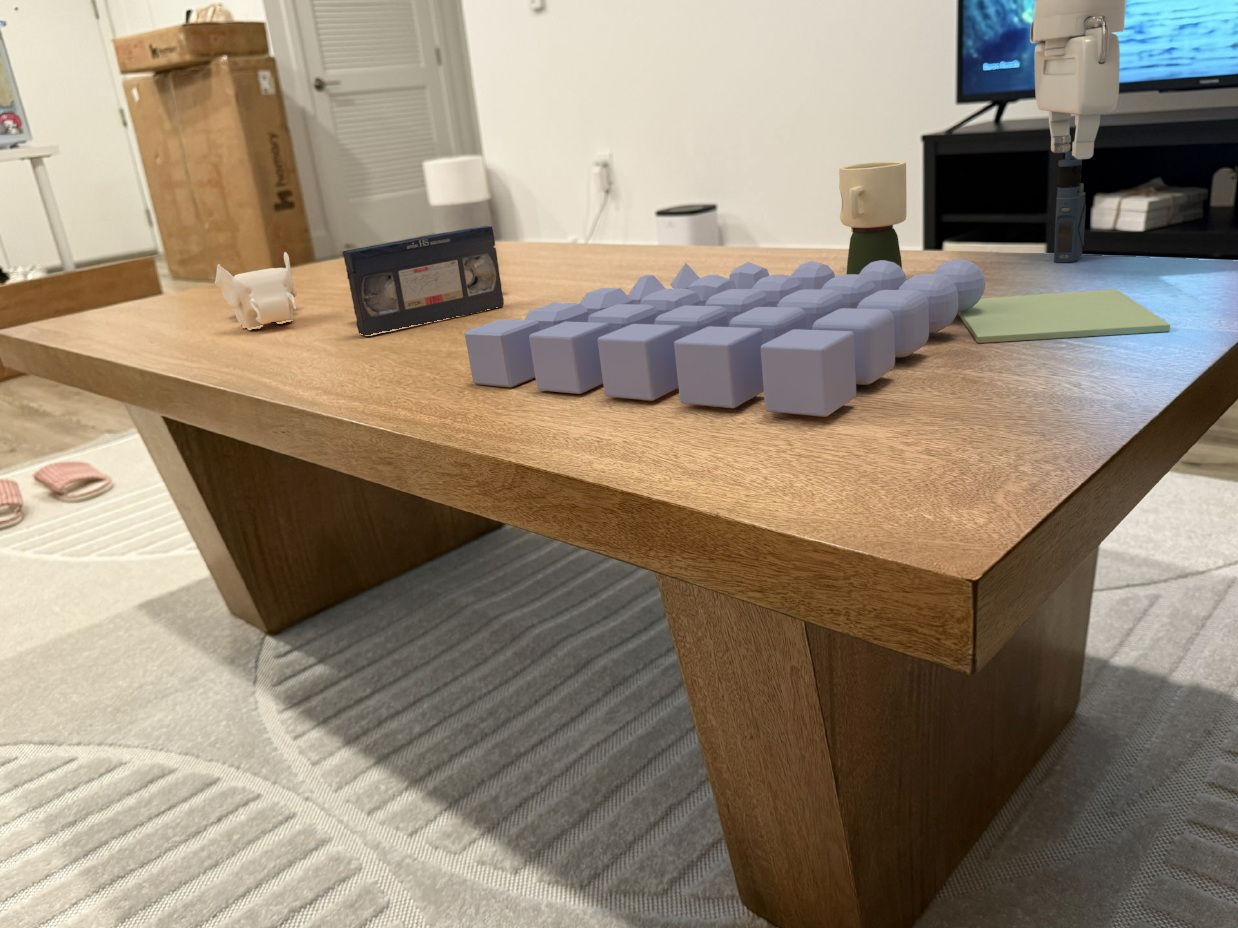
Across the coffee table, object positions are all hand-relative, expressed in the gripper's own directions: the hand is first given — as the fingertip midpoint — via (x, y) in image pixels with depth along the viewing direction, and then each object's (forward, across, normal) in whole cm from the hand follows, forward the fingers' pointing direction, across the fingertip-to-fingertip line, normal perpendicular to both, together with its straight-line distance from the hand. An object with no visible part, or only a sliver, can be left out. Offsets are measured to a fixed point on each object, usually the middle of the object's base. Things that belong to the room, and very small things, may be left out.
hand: (1070, 155), depth 109 cm
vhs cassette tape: (+12, -9, +74) cm, 75 cm away
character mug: (+12, -6, +22) cm, 25 cm away
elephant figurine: (+12, -5, +98) cm, 99 cm away
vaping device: (+12, 0, 0) cm, 12 cm away
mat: (+12, -28, +8) cm, 31 cm away
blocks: (+12, -32, +36) cm, 49 cm away
